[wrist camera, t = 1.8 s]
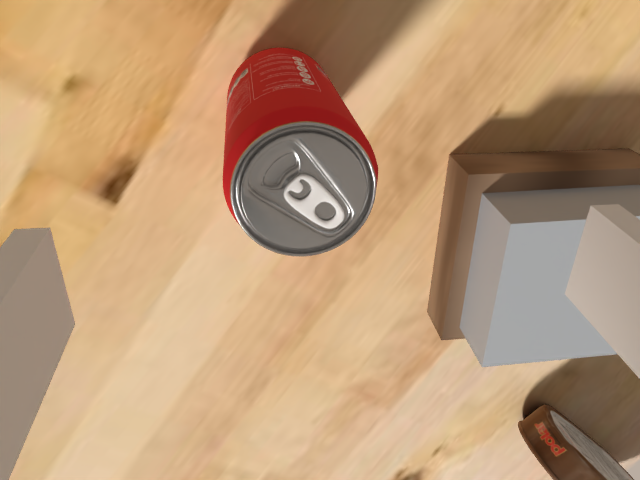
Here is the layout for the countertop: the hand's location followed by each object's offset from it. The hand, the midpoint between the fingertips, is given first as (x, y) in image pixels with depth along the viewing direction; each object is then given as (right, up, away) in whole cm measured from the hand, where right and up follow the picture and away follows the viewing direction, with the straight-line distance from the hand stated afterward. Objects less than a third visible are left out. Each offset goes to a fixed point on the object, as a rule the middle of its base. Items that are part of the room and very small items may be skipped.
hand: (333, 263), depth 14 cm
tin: (+20, -15, +31) cm, 40 cm away
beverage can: (-2, +8, +14) cm, 17 cm away
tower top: (+13, -1, +18) cm, 22 cm away
